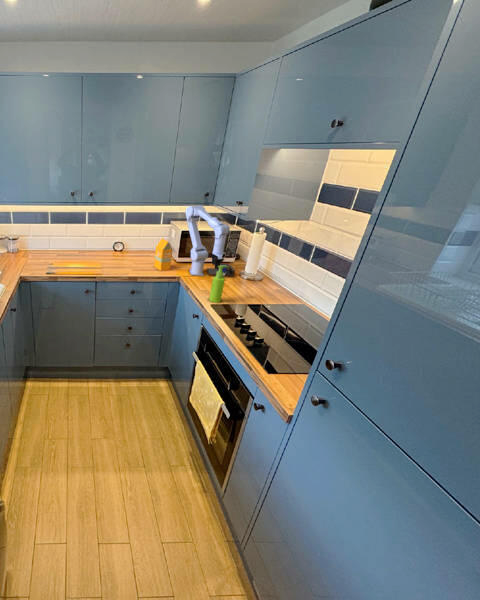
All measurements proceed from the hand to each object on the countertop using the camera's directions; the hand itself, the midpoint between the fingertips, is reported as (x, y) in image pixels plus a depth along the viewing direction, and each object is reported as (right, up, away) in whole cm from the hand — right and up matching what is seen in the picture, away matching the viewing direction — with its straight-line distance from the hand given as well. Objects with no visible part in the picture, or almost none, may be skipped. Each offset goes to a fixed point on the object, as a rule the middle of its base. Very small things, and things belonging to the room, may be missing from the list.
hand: (215, 266), depth 200 cm
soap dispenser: (-9, -21, -21) cm, 31 cm away
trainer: (+10, -2, +13) cm, 17 cm away
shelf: (+9, -3, +15) cm, 18 cm away
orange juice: (-26, +1, +26) cm, 37 cm away
